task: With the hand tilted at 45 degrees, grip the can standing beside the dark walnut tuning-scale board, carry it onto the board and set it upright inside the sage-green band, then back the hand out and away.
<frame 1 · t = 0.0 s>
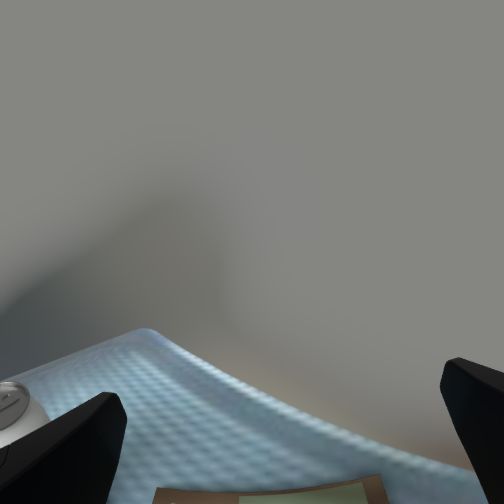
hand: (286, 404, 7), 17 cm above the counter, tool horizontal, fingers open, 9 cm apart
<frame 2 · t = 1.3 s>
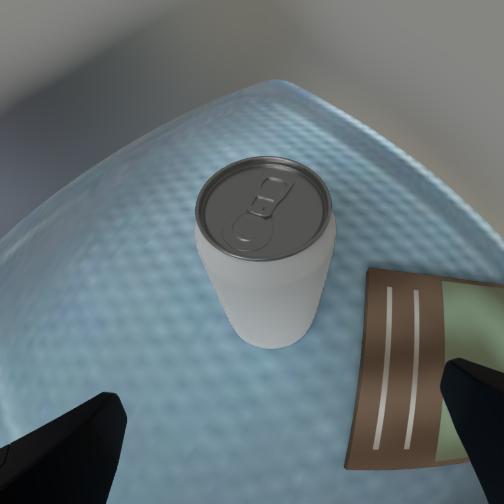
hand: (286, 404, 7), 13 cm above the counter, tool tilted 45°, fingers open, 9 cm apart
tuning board: (458, 370, 18), on the counter
can: (271, 309, 23), on the counter
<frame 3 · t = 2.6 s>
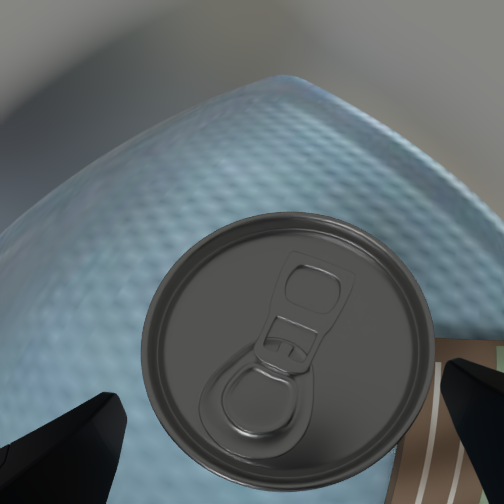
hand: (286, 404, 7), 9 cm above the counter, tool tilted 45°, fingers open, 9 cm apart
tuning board: (501, 449, 11), on the counter
can: (283, 395, 15), on the counter
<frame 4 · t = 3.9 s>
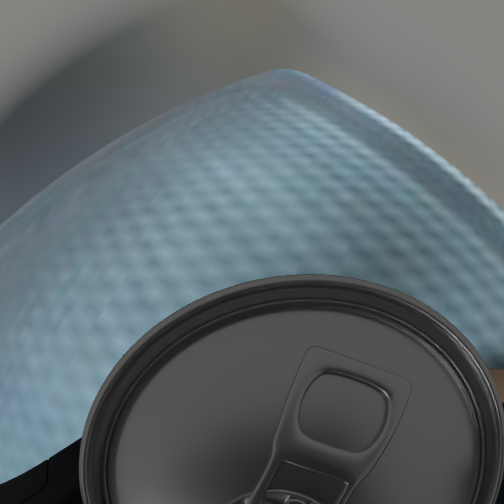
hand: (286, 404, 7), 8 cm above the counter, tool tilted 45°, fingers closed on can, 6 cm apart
can: (285, 438, 13), on the counter, touching gripper
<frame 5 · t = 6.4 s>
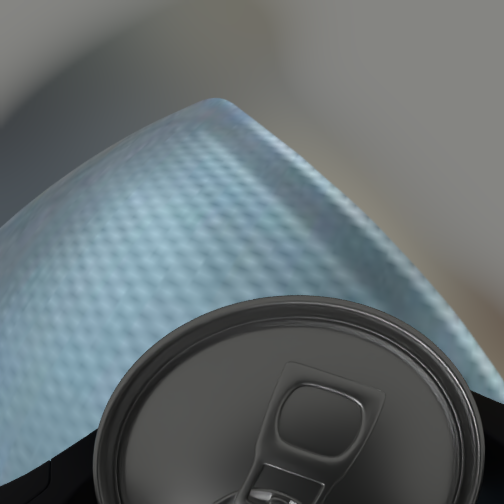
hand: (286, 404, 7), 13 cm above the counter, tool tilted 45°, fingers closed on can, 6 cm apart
can: (299, 433, 13), point 5 cm above the counter, touching gripper
when the fingers open (10 cm above the counter, at t = 8.7 s): can stays where it is, resting on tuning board.
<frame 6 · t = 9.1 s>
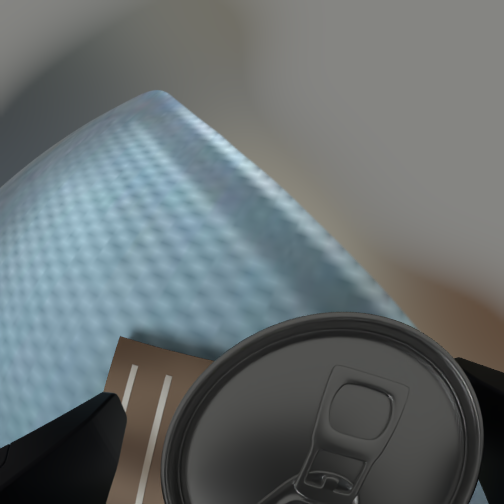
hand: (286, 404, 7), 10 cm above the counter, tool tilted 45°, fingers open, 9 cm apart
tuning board: (225, 488, 13), on the counter
can: (296, 436, 14), point 1 cm above the counter, touching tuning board
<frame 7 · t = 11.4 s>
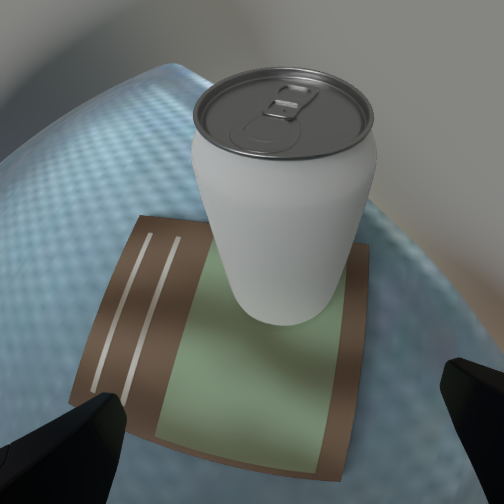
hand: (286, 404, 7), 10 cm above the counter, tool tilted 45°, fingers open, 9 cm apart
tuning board: (220, 336, 18), on the counter
can: (283, 279, 19), point 1 cm above the counter, touching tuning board
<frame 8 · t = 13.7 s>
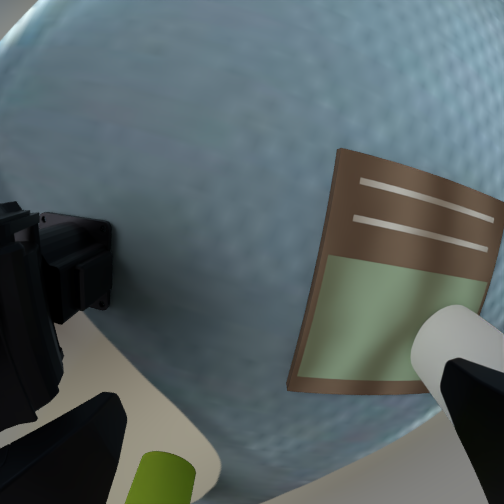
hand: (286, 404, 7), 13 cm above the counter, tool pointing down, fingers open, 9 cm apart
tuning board: (408, 293, 20), on the counter
soap dispenser: (170, 468, 25), on the counter
can: (441, 339, 20), point 1 cm above the counter, touching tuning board
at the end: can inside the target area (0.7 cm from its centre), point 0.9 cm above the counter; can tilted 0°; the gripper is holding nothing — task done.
